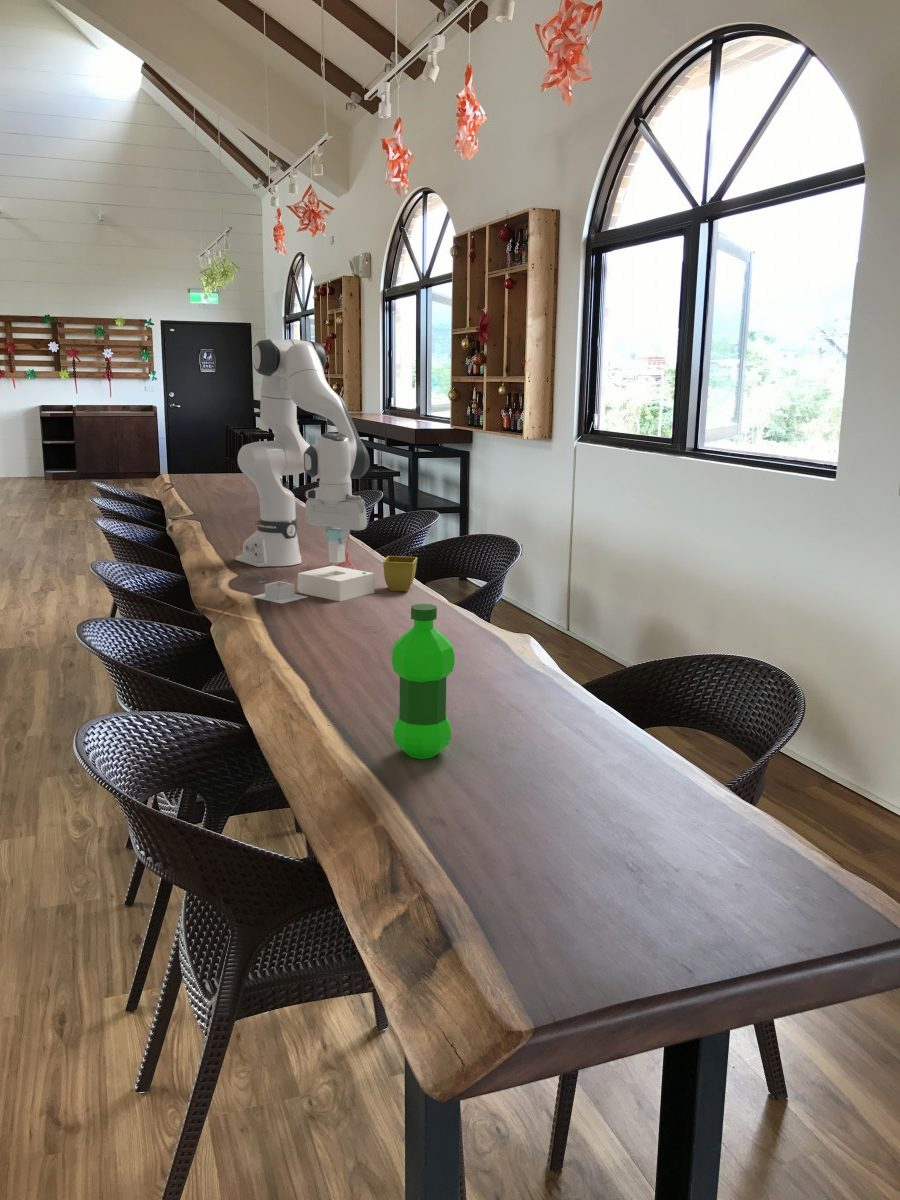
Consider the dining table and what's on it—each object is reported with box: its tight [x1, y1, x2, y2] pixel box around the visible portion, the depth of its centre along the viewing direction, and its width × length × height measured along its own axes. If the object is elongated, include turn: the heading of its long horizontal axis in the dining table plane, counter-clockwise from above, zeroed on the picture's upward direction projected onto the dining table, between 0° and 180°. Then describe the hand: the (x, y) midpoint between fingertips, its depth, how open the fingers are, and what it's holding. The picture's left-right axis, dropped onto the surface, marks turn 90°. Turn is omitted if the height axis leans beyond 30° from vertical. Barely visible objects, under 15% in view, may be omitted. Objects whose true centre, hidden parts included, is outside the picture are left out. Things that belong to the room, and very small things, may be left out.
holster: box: [250, 581, 308, 604], centre depth 261 cm, size 12×10×4 cm
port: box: [297, 565, 375, 602], centre depth 267 cm, size 16×14×6 cm
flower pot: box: [382, 555, 418, 592], centre depth 274 cm, size 9×9×9 cm
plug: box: [327, 527, 346, 564], centre depth 264 cm, size 3×3×9 cm
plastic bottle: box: [391, 603, 456, 760], centre depth 156 cm, size 10×10×25 cm
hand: (336, 543), depth 264 cm, fingers closed on plug, 3 cm apart
